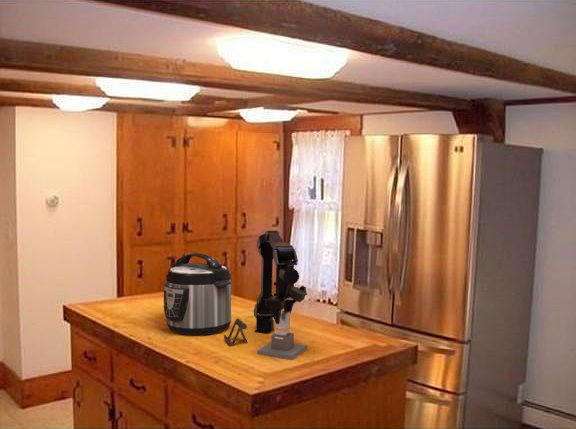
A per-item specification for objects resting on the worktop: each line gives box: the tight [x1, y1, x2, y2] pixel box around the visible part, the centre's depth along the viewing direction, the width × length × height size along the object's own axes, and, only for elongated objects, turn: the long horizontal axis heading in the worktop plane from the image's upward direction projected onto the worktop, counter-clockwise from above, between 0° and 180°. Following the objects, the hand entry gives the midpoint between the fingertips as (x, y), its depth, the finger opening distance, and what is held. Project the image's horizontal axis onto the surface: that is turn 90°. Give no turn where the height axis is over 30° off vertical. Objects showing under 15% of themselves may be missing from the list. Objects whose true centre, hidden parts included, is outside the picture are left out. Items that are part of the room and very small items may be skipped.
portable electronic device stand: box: [223, 318, 248, 347], centre depth 228 cm, size 9×8×8 cm
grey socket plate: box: [256, 332, 308, 361], centre depth 217 cm, size 14×14×6 cm
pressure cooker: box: [163, 252, 232, 336], centre depth 246 cm, size 30×28×32 cm
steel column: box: [274, 309, 291, 337], centre depth 217 cm, size 4×4×9 cm
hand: (282, 321), depth 217 cm, fingers open, 9 cm apart
